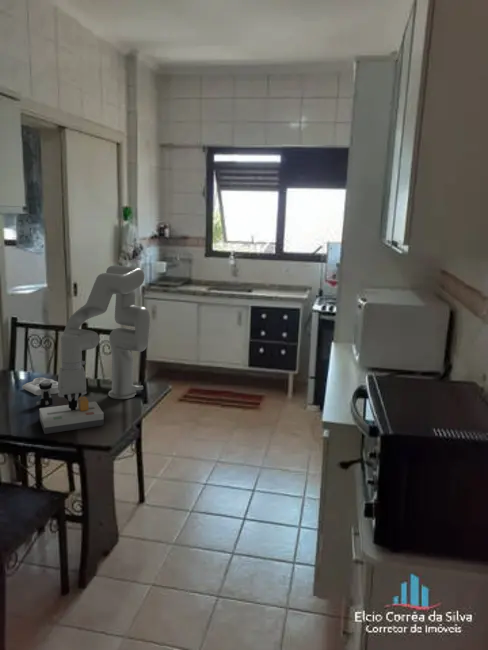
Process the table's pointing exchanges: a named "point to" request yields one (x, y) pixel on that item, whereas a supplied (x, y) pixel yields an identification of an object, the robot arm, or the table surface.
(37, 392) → the knuckle duster
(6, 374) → the table surface
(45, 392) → the push button
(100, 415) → the switch panel
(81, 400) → the lever
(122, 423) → the table surface
